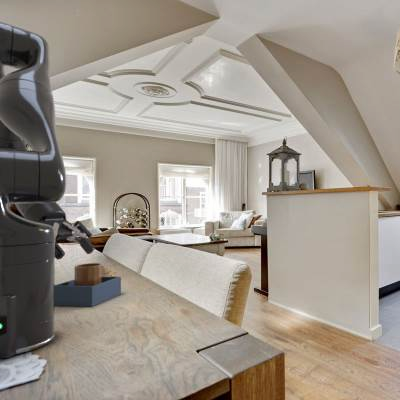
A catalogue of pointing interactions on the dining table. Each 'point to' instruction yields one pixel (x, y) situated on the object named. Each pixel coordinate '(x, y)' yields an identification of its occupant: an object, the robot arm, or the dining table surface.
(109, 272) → the seashell
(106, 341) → the dining table surface
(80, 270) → the brown cup
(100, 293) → the bin
